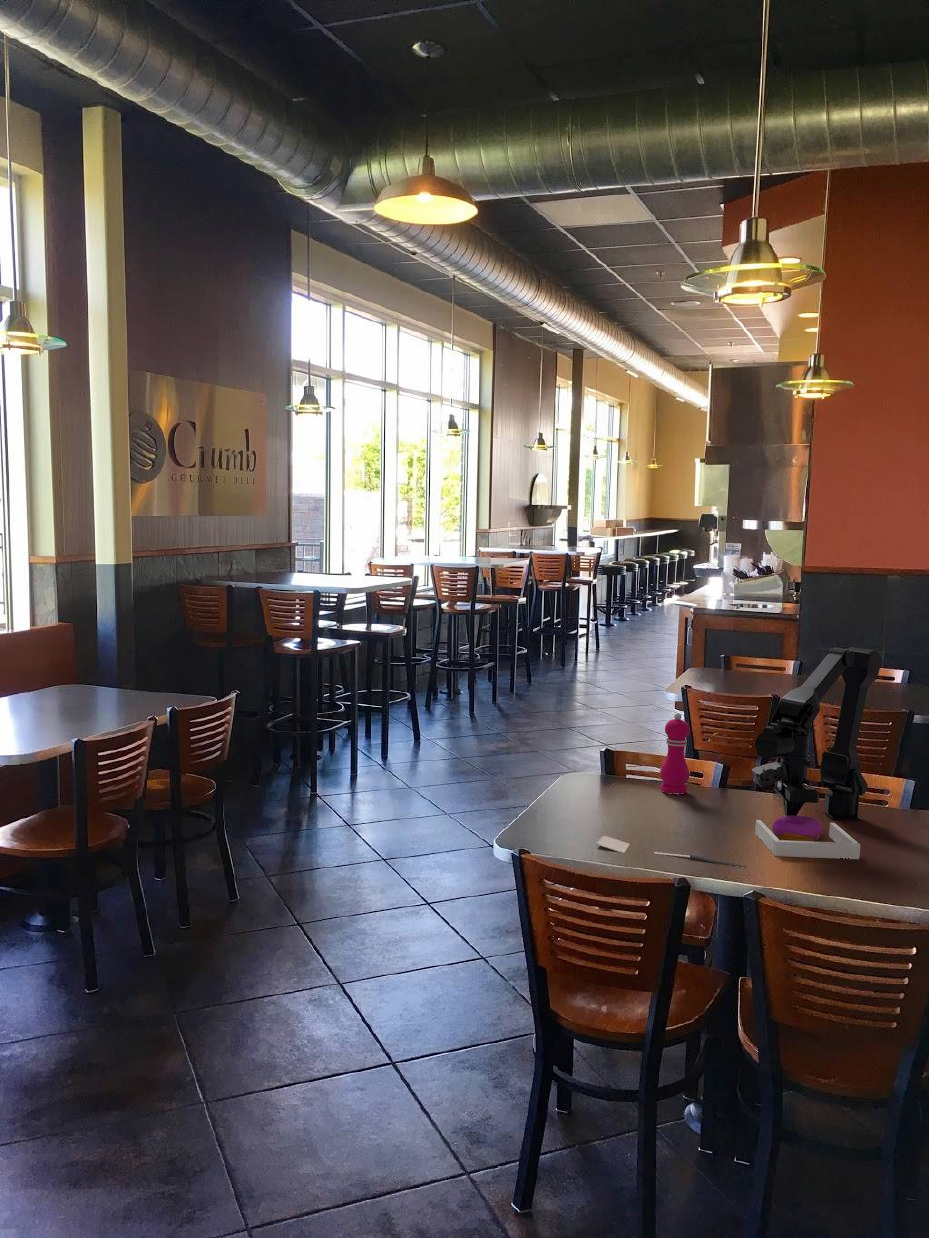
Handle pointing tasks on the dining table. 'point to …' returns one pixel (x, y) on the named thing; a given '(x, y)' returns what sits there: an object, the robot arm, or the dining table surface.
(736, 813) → the dining table surface
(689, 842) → the dining table surface
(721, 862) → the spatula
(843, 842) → the tray
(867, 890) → the dining table surface
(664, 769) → the pepper mill
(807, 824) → the donut
